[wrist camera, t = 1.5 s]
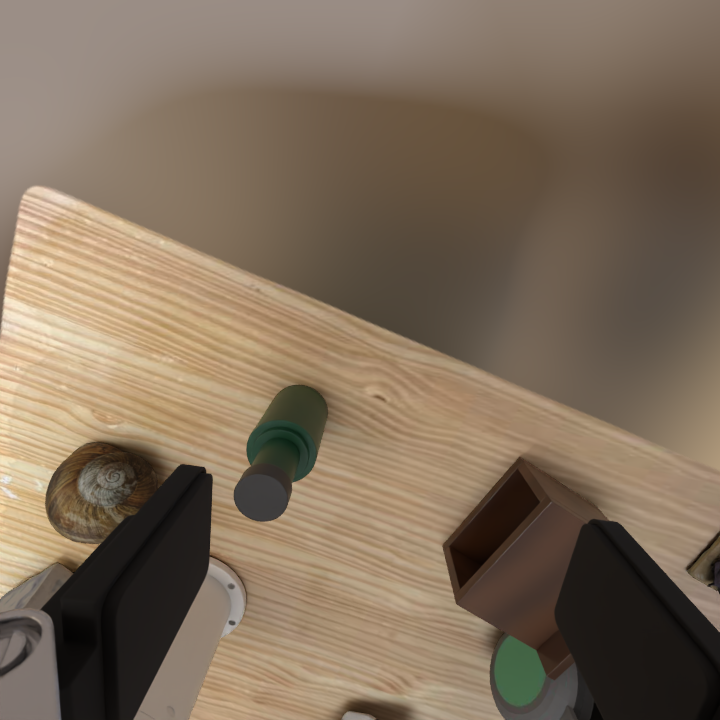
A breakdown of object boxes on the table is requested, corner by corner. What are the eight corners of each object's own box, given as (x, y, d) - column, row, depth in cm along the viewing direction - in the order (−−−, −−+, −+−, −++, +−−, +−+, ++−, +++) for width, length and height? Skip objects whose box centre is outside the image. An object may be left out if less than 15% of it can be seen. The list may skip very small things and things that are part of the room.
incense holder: (57, 632, 52) (-19, 723, 42) (10, 587, 50) (-80, 671, 40) (112, 600, 50) (48, 688, 40) (66, 553, 48) (-14, 632, 38)
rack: (442, 545, 47) (461, 627, 36) (519, 456, 43) (564, 519, 33) (516, 590, 48) (554, 680, 38) (597, 506, 45) (663, 582, 35)
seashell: (178, 457, 45) (138, 500, 37) (157, 522, 47) (115, 576, 39) (79, 420, 44) (16, 456, 36) (63, 489, 46) (1, 537, 38)
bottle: (261, 418, 43) (202, 507, 28) (290, 374, 42) (244, 443, 27) (309, 446, 44) (276, 549, 29) (338, 404, 42) (320, 488, 27)
